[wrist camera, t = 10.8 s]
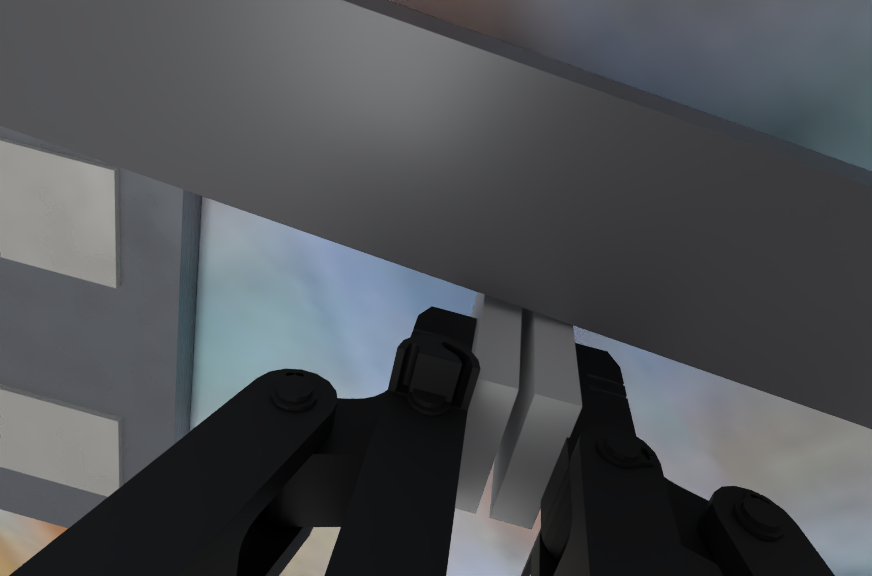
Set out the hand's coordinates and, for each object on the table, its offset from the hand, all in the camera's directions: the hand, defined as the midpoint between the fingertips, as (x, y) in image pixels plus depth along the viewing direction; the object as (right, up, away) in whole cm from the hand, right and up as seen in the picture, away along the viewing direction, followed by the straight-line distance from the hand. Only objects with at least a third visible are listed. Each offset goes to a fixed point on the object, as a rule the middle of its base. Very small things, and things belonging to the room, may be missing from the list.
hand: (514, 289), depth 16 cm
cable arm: (-5, +5, -3) cm, 7 cm away
